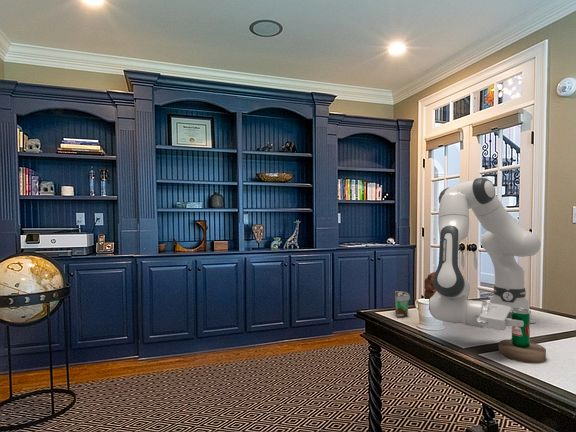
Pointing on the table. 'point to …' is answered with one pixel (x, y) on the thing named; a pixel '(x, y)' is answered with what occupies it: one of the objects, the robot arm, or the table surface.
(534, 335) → the table surface
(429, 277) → the wooden figurine
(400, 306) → the food container
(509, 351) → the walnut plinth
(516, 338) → the soda can
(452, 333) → the table surface
